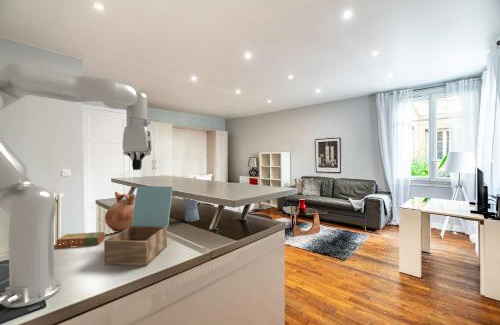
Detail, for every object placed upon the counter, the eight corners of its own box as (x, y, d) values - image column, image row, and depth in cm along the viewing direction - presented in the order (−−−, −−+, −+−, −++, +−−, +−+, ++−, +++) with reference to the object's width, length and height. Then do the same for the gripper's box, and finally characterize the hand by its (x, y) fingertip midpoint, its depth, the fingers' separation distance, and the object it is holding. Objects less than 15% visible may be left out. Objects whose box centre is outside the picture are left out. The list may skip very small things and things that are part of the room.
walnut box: (146, 266, 85) (146, 242, 85) (104, 264, 86) (104, 240, 86) (166, 246, 103) (166, 226, 103) (132, 245, 104) (131, 225, 104)
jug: (97, 230, 124) (96, 193, 124) (128, 222, 140) (128, 189, 140) (118, 236, 116) (118, 196, 115) (149, 226, 132) (149, 191, 131)
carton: (66, 242, 108) (66, 233, 108) (105, 239, 112) (104, 231, 112) (56, 249, 100) (56, 239, 100) (98, 246, 104) (98, 236, 104)
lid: (172, 186, 108) (173, 187, 109) (137, 186, 109) (139, 186, 110) (167, 226, 103) (169, 226, 105) (131, 225, 104) (133, 225, 105)
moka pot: (177, 221, 142) (177, 189, 142) (196, 216, 155) (196, 186, 155) (187, 224, 137) (187, 190, 136) (206, 218, 150) (206, 187, 149)
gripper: (159, 125, 96) (159, 169, 97) (124, 125, 97) (124, 169, 98) (150, 122, 89) (150, 170, 89) (113, 122, 90) (113, 170, 90)
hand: (137, 169), depth 93 cm, fingers closed
